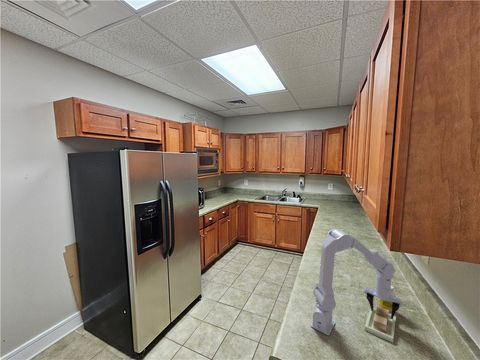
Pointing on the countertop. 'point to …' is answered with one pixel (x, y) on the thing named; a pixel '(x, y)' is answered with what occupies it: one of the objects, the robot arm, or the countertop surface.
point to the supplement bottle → (387, 302)
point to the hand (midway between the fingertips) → (381, 313)
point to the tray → (389, 331)
